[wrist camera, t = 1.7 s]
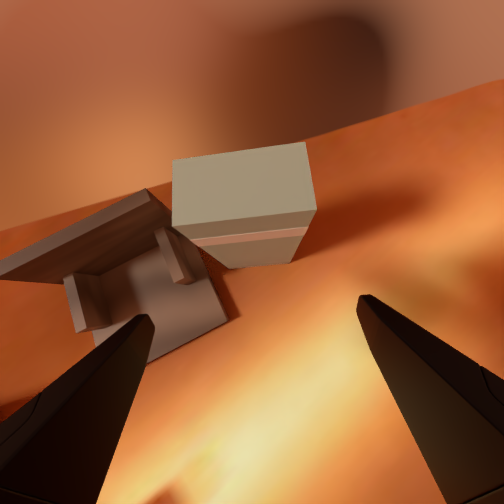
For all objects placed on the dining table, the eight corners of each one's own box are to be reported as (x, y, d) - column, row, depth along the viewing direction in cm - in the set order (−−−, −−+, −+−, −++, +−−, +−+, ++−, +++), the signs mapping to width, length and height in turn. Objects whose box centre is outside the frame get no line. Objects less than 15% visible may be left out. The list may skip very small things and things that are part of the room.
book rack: (229, 320, 20) (204, 332, 13) (113, 380, 20) (15, 431, 12) (184, 219, 24) (142, 180, 16) (83, 270, 23) (-11, 256, 15)
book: (289, 263, 21) (317, 209, 9) (229, 269, 22) (171, 226, 9) (285, 231, 22) (305, 141, 10) (227, 238, 23) (172, 159, 10)
